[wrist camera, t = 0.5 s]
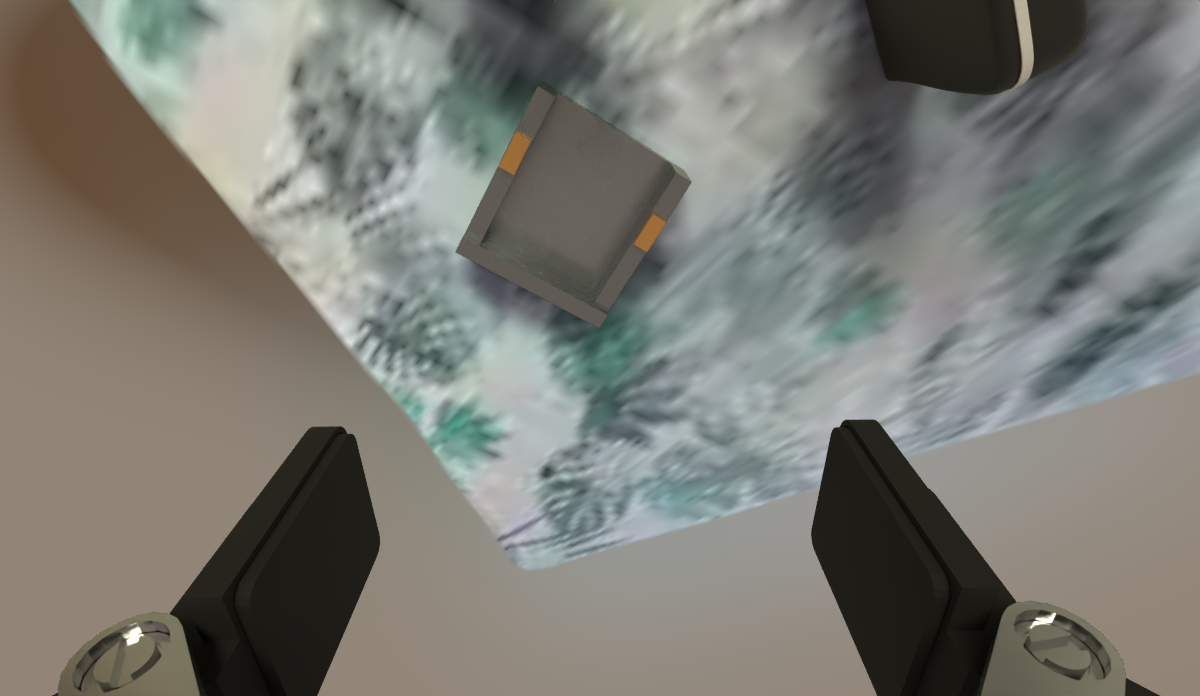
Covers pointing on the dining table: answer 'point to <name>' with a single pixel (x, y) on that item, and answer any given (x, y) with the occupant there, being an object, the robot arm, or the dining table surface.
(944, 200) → the dining table surface
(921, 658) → the robot arm
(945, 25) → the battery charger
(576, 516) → the dining table surface
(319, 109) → the dining table surface
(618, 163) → the tray
